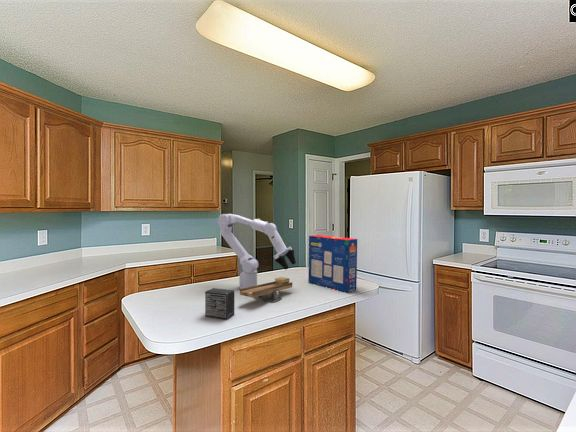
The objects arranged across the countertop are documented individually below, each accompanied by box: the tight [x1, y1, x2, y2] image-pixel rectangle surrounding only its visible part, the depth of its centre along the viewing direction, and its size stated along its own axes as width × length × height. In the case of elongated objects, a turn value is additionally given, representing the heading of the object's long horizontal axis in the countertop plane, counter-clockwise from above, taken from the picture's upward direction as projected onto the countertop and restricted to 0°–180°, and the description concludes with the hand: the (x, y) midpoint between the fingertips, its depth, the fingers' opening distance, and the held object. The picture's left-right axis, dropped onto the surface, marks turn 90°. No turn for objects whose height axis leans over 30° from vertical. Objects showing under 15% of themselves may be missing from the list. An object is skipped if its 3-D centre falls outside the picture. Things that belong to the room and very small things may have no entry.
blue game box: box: [307, 234, 358, 294], centre depth 170 cm, size 28×8×28 cm, turn 43°
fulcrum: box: [253, 290, 283, 304], centre depth 147 cm, size 12×7×5 cm, turn 56°
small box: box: [204, 287, 236, 321], centre depth 124 cm, size 11×6×10 cm, turn 71°
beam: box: [239, 280, 293, 299], centre depth 147 cm, size 8×31×2 cm, turn 146°
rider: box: [274, 276, 290, 285], centre depth 157 cm, size 5×6×3 cm
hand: (290, 266), depth 159 cm, fingers open, 7 cm apart
